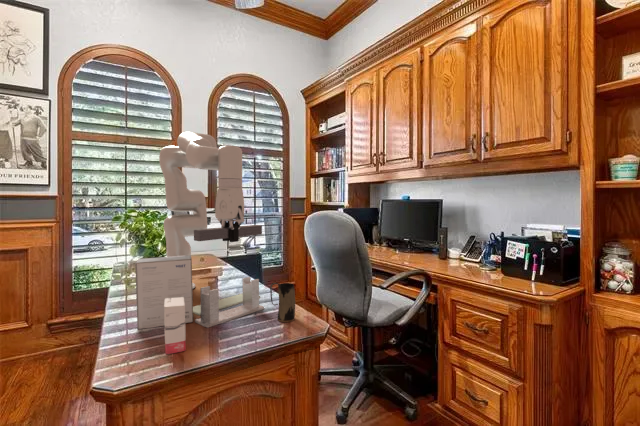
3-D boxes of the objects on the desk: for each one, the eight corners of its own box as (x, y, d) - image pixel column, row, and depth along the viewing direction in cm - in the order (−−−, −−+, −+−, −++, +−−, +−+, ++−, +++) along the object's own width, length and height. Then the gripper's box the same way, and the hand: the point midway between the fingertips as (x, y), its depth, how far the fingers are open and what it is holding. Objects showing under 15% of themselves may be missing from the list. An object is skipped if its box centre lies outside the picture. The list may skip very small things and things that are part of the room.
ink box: (186, 351, 82) (185, 305, 81) (164, 355, 80) (163, 307, 79) (184, 338, 90) (184, 295, 89) (165, 341, 88) (164, 297, 87)
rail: (193, 240, 98) (193, 229, 98) (256, 233, 117) (256, 225, 117) (199, 241, 96) (199, 230, 96) (261, 234, 115) (261, 225, 115)
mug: (291, 315, 108) (291, 279, 107) (297, 320, 103) (297, 283, 102) (268, 318, 105) (268, 281, 104) (273, 324, 99) (273, 285, 99)
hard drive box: (193, 314, 108) (192, 254, 107) (193, 322, 101) (192, 258, 100) (140, 320, 102) (138, 257, 102) (136, 330, 95) (134, 262, 94)
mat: (186, 310, 112) (186, 308, 112) (247, 293, 132) (247, 292, 132) (198, 315, 107) (198, 313, 107) (260, 297, 127) (260, 295, 127)
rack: (194, 322, 101) (194, 288, 101) (251, 304, 118) (251, 275, 118) (207, 327, 97) (206, 292, 96) (264, 308, 114) (264, 278, 113)
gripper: (206, 184, 108) (206, 240, 109) (236, 183, 98) (236, 244, 99) (225, 185, 114) (225, 238, 115) (255, 184, 104) (255, 242, 104)
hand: (230, 240), depth 107 cm, fingers closed on rail, 3 cm apart
